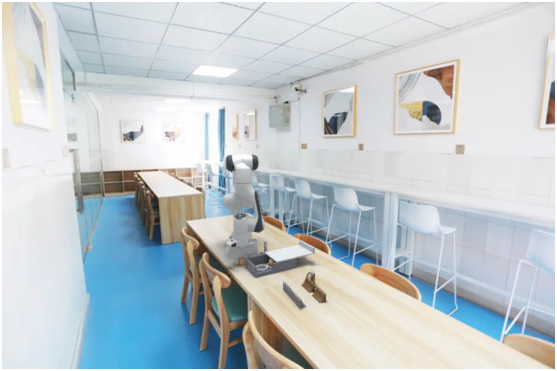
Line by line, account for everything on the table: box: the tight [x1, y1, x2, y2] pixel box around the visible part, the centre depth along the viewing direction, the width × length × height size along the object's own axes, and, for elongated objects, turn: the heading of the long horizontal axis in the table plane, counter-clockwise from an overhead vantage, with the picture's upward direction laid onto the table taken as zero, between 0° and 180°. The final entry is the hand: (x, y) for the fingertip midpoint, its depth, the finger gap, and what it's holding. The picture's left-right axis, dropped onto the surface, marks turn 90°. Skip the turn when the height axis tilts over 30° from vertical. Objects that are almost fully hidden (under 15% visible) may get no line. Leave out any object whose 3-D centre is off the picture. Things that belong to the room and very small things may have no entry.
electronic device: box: [250, 241, 268, 257], centre depth 184 cm, size 5×10×15 cm
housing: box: [244, 254, 298, 279], centre depth 168 cm, size 16×26×6 cm, turn 118°
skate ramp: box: [282, 269, 327, 309], centre depth 140 cm, size 29×35×8 cm
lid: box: [265, 239, 316, 263], centre depth 173 cm, size 16×26×4 cm, turn 118°
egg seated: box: [269, 258, 276, 267], centre depth 168 cm, size 4×4×4 cm
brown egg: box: [238, 256, 246, 266], centre depth 173 cm, size 4×4×4 cm
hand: (242, 262), depth 173 cm, fingers closed on brown egg, 4 cm apart
